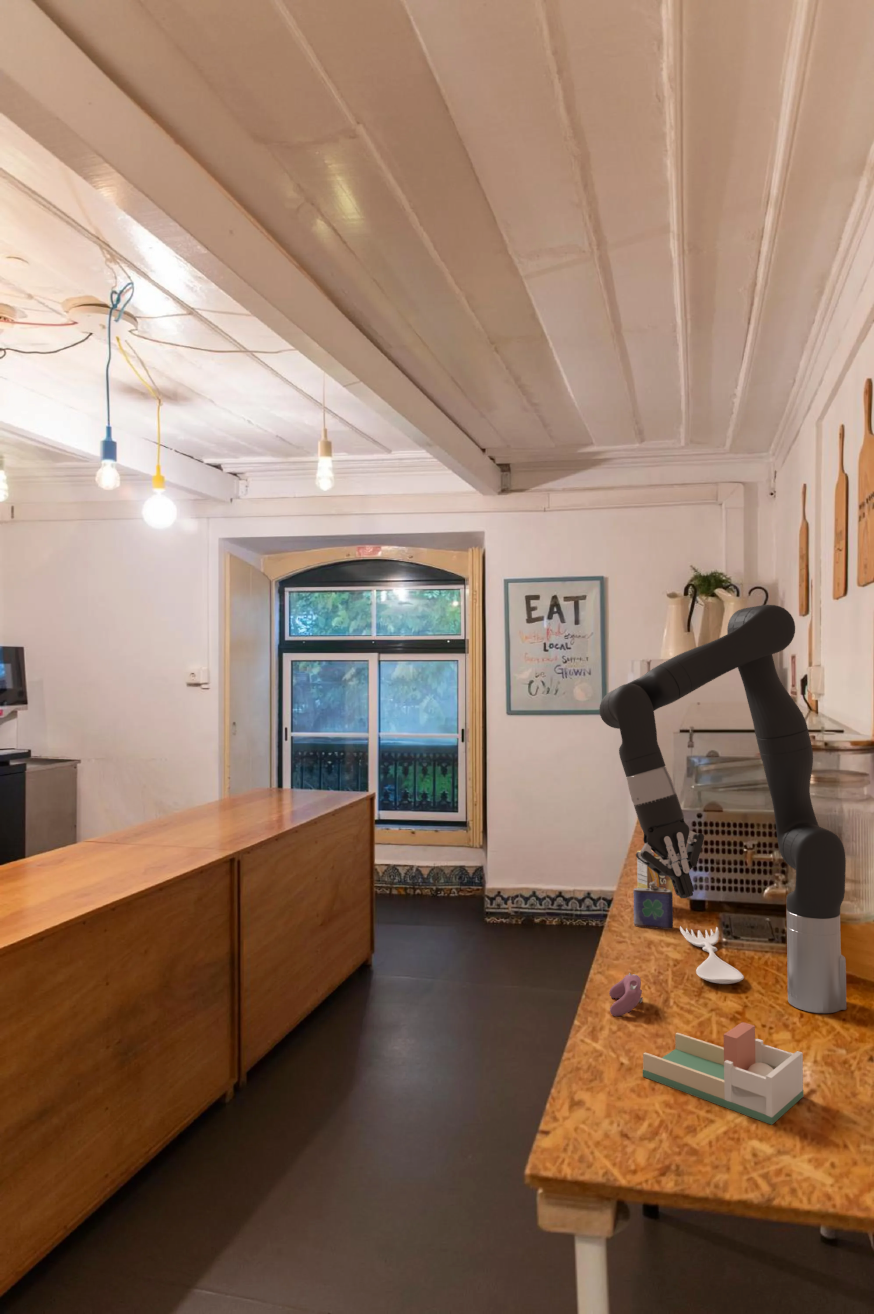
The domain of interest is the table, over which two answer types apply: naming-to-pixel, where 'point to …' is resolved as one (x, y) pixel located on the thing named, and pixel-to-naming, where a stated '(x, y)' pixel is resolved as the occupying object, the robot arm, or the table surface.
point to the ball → (760, 1069)
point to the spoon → (712, 959)
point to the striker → (740, 1045)
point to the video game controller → (626, 995)
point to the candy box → (651, 876)
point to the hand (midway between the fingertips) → (686, 897)
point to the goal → (766, 1080)
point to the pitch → (702, 1075)
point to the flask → (653, 907)
